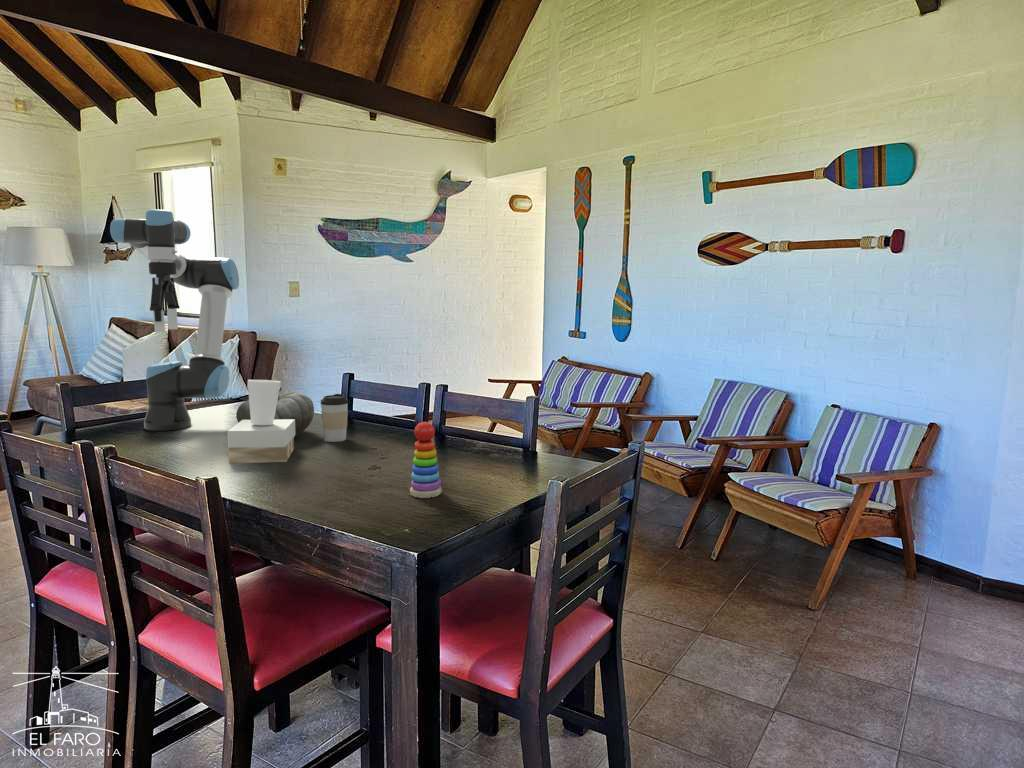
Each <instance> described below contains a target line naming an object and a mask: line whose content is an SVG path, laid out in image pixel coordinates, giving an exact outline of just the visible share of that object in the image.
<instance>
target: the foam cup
mask: <svg viewBox="0 0 1024 768" xmlns="http://www.w3.org/2000/svg"><path fill="white" fill-rule="evenodd" d="M281 382H282V381H281V380H280V381H279V380H272V379H271V380H270V379H247V386H246V387H247V390H248V400H249V405H250V417H251V424H255V425H272V424H273V422H274V416H275V411H276V406H277V400H278V395H280V392H279V390H280V387H281V384H282V383H281Z"/></svg>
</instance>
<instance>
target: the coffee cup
mask: <svg viewBox="0 0 1024 768" xmlns="http://www.w3.org/2000/svg"><path fill="white" fill-rule="evenodd" d="M319 404H320V406H321V418H322V419H321V420H322V429H323V433H324V434H323V435H324V441H326V442H330V443H335V442H336V443H338V442H345V440H346V439H347V428H348V414H349V409H348V404H349V399H348V398H347V397H346V396H345V395H343V394H341V393H335V394H331V395H325V396H323V398H321V400H320V403H319Z"/></svg>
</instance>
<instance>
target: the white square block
mask: <svg viewBox="0 0 1024 768" xmlns="http://www.w3.org/2000/svg"><path fill="white" fill-rule="evenodd" d="M295 435H296V434H295V419H274V422H273V424H272V425H255V424H251V420H241V421H240V422H239V423H238V422H236V424H235V425H233V426H232V427H231V428H229V429H228V430H227V446H228V447H227V448H228V449H229V448H251V447H285V446H286V445H287V444H288V443H289V442H290V441H291V439H292V438H293V437H294V438H295V437H296V436H297V435H296V436H295Z"/></svg>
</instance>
